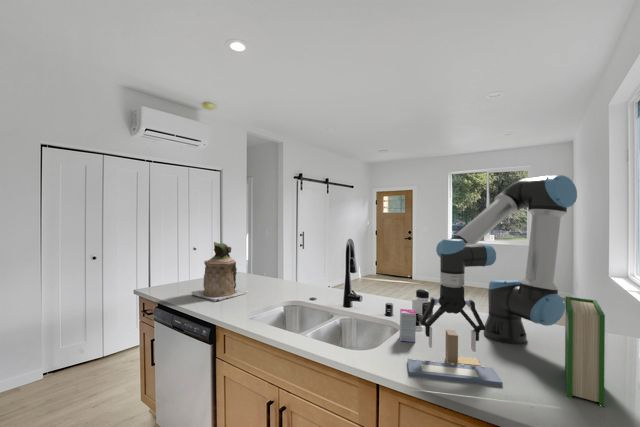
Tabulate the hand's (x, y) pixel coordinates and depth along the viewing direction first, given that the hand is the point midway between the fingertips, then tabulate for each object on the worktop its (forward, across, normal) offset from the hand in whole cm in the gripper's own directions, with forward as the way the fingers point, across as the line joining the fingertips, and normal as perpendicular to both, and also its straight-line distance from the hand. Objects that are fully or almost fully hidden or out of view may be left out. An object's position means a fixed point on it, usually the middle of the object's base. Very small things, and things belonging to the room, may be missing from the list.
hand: (451, 348), depth 106 cm
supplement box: (+5, -14, +16) cm, 22 cm away
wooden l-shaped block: (+4, +4, 0) cm, 6 cm away
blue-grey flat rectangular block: (+5, -1, -8) cm, 10 cm away
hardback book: (+5, +34, -8) cm, 35 cm away
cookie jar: (+5, -121, +61) cm, 136 cm away
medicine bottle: (+5, -4, +51) cm, 51 cm away
